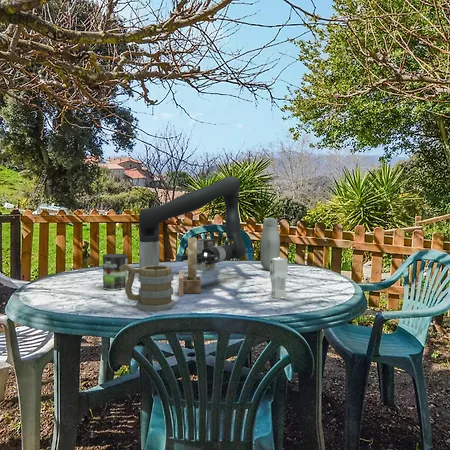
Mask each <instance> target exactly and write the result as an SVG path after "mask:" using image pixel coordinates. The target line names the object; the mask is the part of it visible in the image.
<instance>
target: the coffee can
mask: <svg viewBox="0 0 450 450" xmlns="http://www.w3.org/2000/svg"><path fill="white" fill-rule="evenodd" d="M124 264H128V254H125V253H108V254H103V255H102V280H103V281H102V283H103V284H102V289H103V290H104V289H107V290H106V291H110V290H116V291H120V290H119V289H124V290H125V285H126V282H127V280H128V271H127V270H125V269H124V270H123V271H121V270H120V269H119V267H120V266H122V265H124Z"/></svg>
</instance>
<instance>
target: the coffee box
mask: <svg viewBox="0 0 450 450" xmlns="http://www.w3.org/2000/svg"><path fill="white" fill-rule="evenodd" d="M213 246H216V239H215V238H202V239H197V253H198V252H202V250H203V249H204V248H207V247H213ZM214 269H216V263H215V264H210V265H207V264H205V263H204V262H202V263H197V271H204V272H205V271H210V270H214Z"/></svg>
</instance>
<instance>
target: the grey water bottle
mask: <svg viewBox="0 0 450 450" xmlns="http://www.w3.org/2000/svg"><path fill="white" fill-rule="evenodd" d="M280 239H281V238H280V234H279V226H278V220H277V219H276V218H274V217H266V218H265V219H264V220H263V225H262V233H261V236H260V265H261V267H262V268H263V269H264V270H266V271H270V259H271V258H281V257H280V255H281V254H280V253H281V250H280V249H281V240H280Z"/></svg>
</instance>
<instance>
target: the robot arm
mask: <svg viewBox="0 0 450 450" xmlns="http://www.w3.org/2000/svg"><path fill="white" fill-rule="evenodd" d="M240 190H241V182H240V180H239V178H237V177H235V176H226V177H223V178H222V179H220V180H218V181H216V182H214V183H212V184H209V185H207V186H203V187H200V188H198V189H196V190H192V191H190V192H186V193H184V194H181V195H178V196H177V197H175V198H173V199H171V200H169V201H168V202H166V203H163V204H161V205H157V206H153V207H147V208H144V209H143V210H141V211H140V213H139V215H138V221H139V243H138V244H139V258H138V269H140V268H142V267H144V266H153V265H155V266H156V265H160V224H161V223H163V222H165V221H167V220H169V219H171V218H176V217H180V216H182V215H183V216H184V215H186V214H189V213H192V212H195V211H197V210H201V208H204V207H206V205H208V204H211V202H213V201H214V200H216V199H219V198H222V197H223V201H224V208H225V234H226V235H225V236H226V238H227V239H228V240H233V242H234V243H231V244H226V245H225V244H224V245H223V244H222V245H215V246H213V247H207V248H204V249H203V250H202V252H198V253H197V263H202V262H204V263H205V264H207V265H210V264H215V265H216V264H219V263H221V262H226V261H228V260H233V259H235V260H236V259H241V258H243V257H244V256H246V251H247V249H246V245H245V242H244V240H243V236H242V229H241V220H240V214H239V204H238V203H239V195H240ZM180 258H181V259H180V260H181V262H185V261H186V262H187V261H188V252H186V253H184V254H183V255H181V257H180ZM138 275H140V274H138Z"/></svg>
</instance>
